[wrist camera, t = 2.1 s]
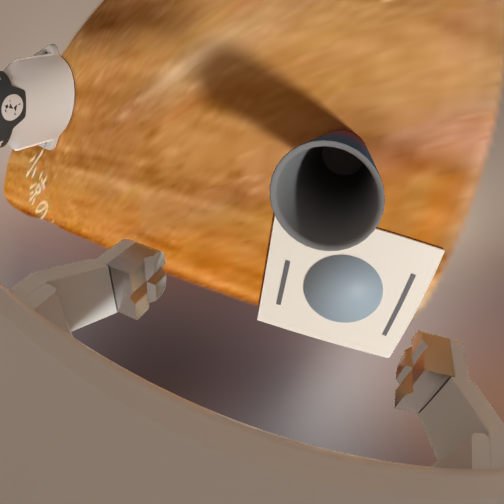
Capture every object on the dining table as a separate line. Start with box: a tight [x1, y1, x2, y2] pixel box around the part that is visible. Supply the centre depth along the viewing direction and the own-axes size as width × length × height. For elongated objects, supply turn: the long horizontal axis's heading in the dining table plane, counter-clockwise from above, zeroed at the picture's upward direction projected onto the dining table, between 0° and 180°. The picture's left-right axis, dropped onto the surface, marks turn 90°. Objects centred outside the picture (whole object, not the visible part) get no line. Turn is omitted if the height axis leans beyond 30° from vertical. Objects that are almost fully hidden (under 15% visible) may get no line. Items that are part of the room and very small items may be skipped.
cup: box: [270, 130, 385, 251], centre depth 23 cm, size 7×7×15 cm
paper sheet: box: [257, 217, 445, 358], centre depth 37 cm, size 20×18×1 cm
